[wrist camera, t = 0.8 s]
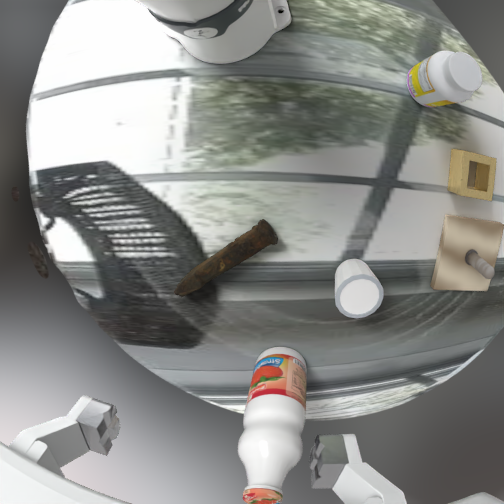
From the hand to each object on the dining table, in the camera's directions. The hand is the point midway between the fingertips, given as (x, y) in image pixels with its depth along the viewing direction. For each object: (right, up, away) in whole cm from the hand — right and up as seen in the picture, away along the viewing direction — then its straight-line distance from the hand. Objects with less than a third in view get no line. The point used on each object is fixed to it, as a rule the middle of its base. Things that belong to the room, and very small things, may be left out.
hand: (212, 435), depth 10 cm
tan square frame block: (+34, +19, +27) cm, 47 cm away
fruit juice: (+7, -13, +44) cm, 46 cm away
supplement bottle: (+26, +31, +24) cm, 47 cm away
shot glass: (+17, +4, +36) cm, 40 cm away
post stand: (+37, +7, +31) cm, 49 cm away
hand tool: (-3, +6, +38) cm, 39 cm away
